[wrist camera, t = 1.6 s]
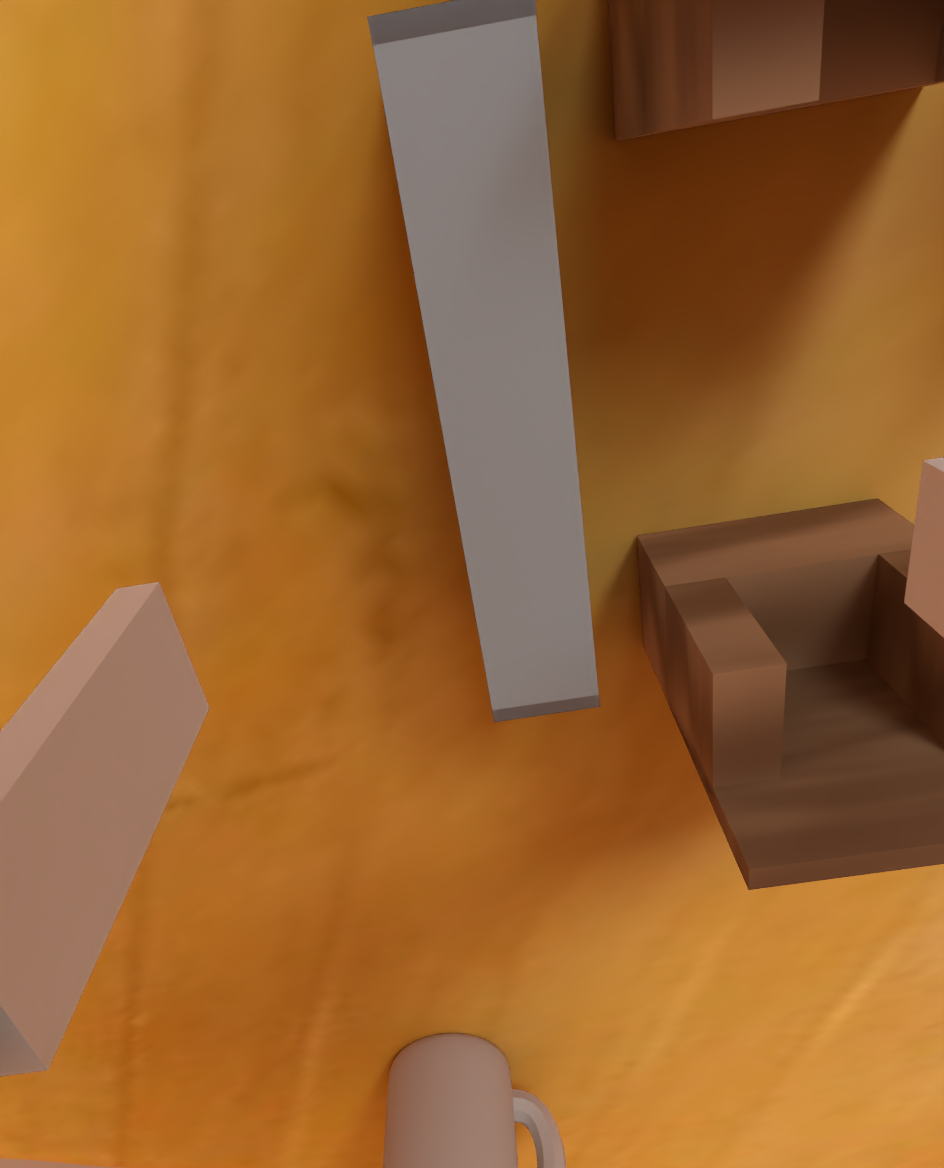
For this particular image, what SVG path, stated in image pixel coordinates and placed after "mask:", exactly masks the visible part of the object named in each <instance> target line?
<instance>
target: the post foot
mask: <svg viewBox="0 0 944 1168" xmlns="http://www.w3.org/2000/svg"><path fill="white" fill-rule="evenodd" d="M913 532H914V525H913V524H912V523H910V522H909V521H908V520H906V519H905V518H904V517H902V516H901V515H900V514H898V513H897V512H895V511H894V510H893V509H891V508H890V507H889V506H887V505H886V504H885V503H883V502H882V501H880V500H879V499H871V500H865V501H859V502H852V503H846V504H839V505H833V506H826V507H820V508H813V509H807V510H801V511H794V512H788V513H781V514H775V515H768V516H762V517H755V518H749V519H743V520H736V521H730V522H723V523H717V524H710V525H704V526H697V527H691V528H684V529H678V530H672V531H665V532H659V533H652V534H646V535H639V536H637V542H638V561H639V579H640V597H641V616H642V634H643V646H644V648H645V651H646V653H647V655H648V658H649V660H650V662H651V665H652V667H653V669H654V672H655V674H656V676H657V679H658V681H659V683H660V686H661V688H662V690H663V693H664V695H665V697H666V699H667V702H668V704H669V706H670V709H671V711H672V713H673V716H674V718H675V720H676V723H677V725H678V727H679V730H680V732H681V734H682V737H683V739H684V741H685V744H686V746H687V748H688V750H689V753H690V755H691V757H692V760H693V762H694V764H695V767H696V769H697V771H698V774H699V776H700V778H701V781H702V783H703V785H704V788H705V790H706V792H707V795H708V797H709V799H710V801H711V804H712V806H713V808H714V811H715V813H716V815H717V818H718V820H719V822H720V825H721V827H722V829H723V832H724V834H725V836H726V839H727V841H728V843H729V846H730V848H731V850H732V852H733V855H734V857H735V859H736V862H737V864H738V866H739V869H740V871H741V873H742V876H743V878H744V880H745V883H746V885H747V887H748V890H751V889H759V888H766V887H774V886H781V885H789V884H796V883H804V882H811V881H819V880H826V879H834V878H841V877H849V876H856V875H864V874H871V873H879V872H886V871H894V870H901V869H909V868H916V867H923V866H931V865H938V864H944V638H943V637H942V636H941V635H940V634H939V633H938V632H937V631H935V630H934V629H933V628H932V627H931V626H930V625H929V624H928V623H926V622H925V621H924V620H923V619H922V618H921V617H920V616H919V615H917V614H916V613H915V612H914V611H913V610H912V609H911V608H910V607H908V606H907V605H906V604H905V603H904V599H905V592H906V584H907V577H908V569H909V562H910V555H911V547H912V540H913Z"/></svg>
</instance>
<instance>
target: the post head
mask: <svg viewBox="0 0 944 1168" xmlns="http://www.w3.org/2000/svg"><path fill="white" fill-rule="evenodd" d="M608 10H609V28H610V47H611V65H612V83H613V102H614V120H615V139H616V141H619V140H625V139H630V138H636V137H642V136H647V135H653V134H659V133H664V132H670V131H675V130H681V129H687V128H692V127H698V126H703V125H709V124H715V123H720V122H726V121H731V120H737V119H743V118H748V117H754V116H760V115H765V114H771V113H776V112H782V111H788V110H793V109H799V108H804V107H810V106H816V105H821V104H827V103H832V102H838V101H844V100H849V99H855V98H861V97H866V96H872V95H877V94H883V93H889V92H894V91H900V90H905V89H911V88H917V87H922V86H928V85H933V84H938V83H943V82H944V0H608Z"/></svg>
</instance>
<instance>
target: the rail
mask: <svg viewBox="0 0 944 1168" xmlns="http://www.w3.org/2000/svg"><path fill="white" fill-rule="evenodd" d="M368 23H369V28H370V34H371V39H372V45H373V48H374V53H375V59H376V65H377V70H378V76H379V81H380V87H381V92H382V98H383V104H384V109H385V115H386V120H387V126H388V131H389V137H390V143H391V148H392V154H393V159H394V165H395V170H396V176H397V182H398V187H399V193H400V198H401V204H402V210H403V215H404V221H405V226H406V232H407V237H408V243H409V249H410V254H411V260H412V265H413V271H414V276H415V282H416V288H417V293H418V299H419V304H420V310H421V315H422V321H423V327H424V332H425V338H426V343H427V349H428V354H429V360H430V366H431V371H432V377H433V382H434V388H435V393H436V399H437V405H438V410H439V416H440V421H441V427H442V432H443V438H444V444H445V449H446V455H447V460H448V466H449V471H450V477H451V483H452V488H453V494H454V499H455V505H456V510H457V516H458V522H459V527H460V533H461V538H462V544H463V549H464V555H465V561H466V566H467V572H468V577H469V583H470V588H471V594H472V600H473V605H474V611H475V616H476V622H477V627H478V633H479V639H480V644H481V650H482V655H483V661H484V667H485V672H486V678H487V683H488V689H489V694H490V700H491V706H492V713H493V718H494V722H499V721H506V720H513V719H520V718H526V717H533V716H540V715H547V714H554V713H561V712H568V711H575V710H581V709H588V708H595V707H600V700H599V693H598V682H597V671H596V660H595V649H594V638H593V627H592V617H591V606H590V595H589V584H588V573H587V562H586V552H585V541H584V530H583V519H582V508H581V497H580V486H579V476H578V465H577V454H576V443H575V432H574V421H573V410H572V400H571V389H570V378H569V367H568V356H567V345H566V335H565V324H564V313H563V302H562V291H561V280H560V269H559V259H558V248H557V237H556V226H555V215H554V204H553V193H552V183H551V172H550V161H549V150H548V139H547V128H546V117H545V107H544V96H543V85H542V74H541V63H540V52H539V42H538V31H537V20H536V4H535V0H454V1H448V2H443V3H438V4H432V5H427V6H422V7H416V8H411V9H406V10H401V11H395V12H390V13H385V14H379V15H374V16H369V17H368Z"/></svg>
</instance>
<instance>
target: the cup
mask: <svg viewBox="0 0 944 1168" xmlns="http://www.w3.org/2000/svg"><path fill="white" fill-rule="evenodd" d="M515 1122H518V1123H521V1124H523V1125H525V1126H526V1127H527V1128H528V1130H529V1131H530V1133H531V1135H532V1137H533V1140H534V1144H535V1148H536V1154H537V1165H538V1167H537V1168H566V1161H565V1153H564V1147H563V1144H562V1140H561V1137H560V1133H559V1130H558V1127H557V1124H556V1122H555V1121H554V1119H553V1117H552V1115H551V1113H550V1111H549V1109H548V1107H547V1106H546V1105H545V1104H543V1103H542V1102H541V1101H540V1100H539V1099H538V1098H537V1097H536V1096H535V1095H533V1094H530V1093H528V1092H526V1091H523V1090H516V1089H512V1084H511V1075H510V1067H509V1064H508V1061H507V1059H506V1057H505V1056H504V1055H503V1053H502V1052H501V1051H500V1050H499V1049H498V1048H497V1047H496V1046H495V1045H494V1044H492V1043H491V1042H489V1041H487V1040H486V1039H483V1038H480V1037H477V1036H474V1035H468V1034H461V1033H442V1034H437V1035H431V1036H427V1037H424V1038H421V1039H419V1040H416V1041H414V1042H412V1043H411V1044H409V1045H408V1046H406V1047H405V1048H404V1049H403V1050H402V1051H401V1052H400V1053H399V1054H398V1055H397V1057H396V1058H395V1060H394V1061H393V1063H392V1066H391V1068H390V1072H389V1080H388V1094H387V1110H386V1127H385V1143H384V1160H383V1168H518V1158H517V1145H516V1132H515Z"/></svg>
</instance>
